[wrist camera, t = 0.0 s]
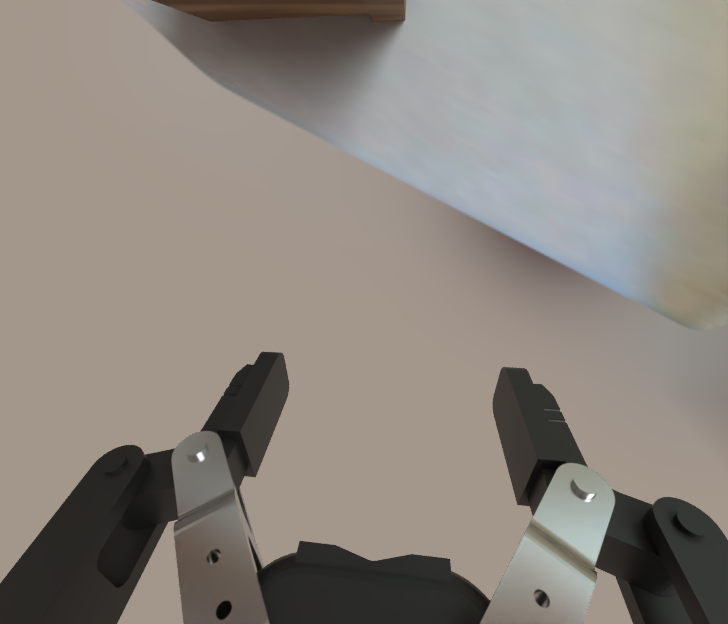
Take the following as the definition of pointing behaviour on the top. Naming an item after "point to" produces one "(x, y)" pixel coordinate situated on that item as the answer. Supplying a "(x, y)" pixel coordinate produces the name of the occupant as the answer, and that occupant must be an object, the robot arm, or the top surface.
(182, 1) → the wooden holder stand
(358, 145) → the top surface
